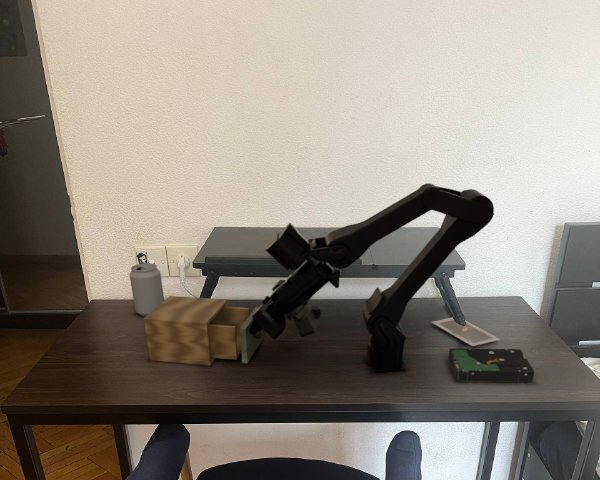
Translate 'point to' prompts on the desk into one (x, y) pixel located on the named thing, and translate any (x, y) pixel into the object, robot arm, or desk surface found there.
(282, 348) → the desk surface
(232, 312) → the drawer
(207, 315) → the cabinet
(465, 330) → the touchpad
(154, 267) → the can
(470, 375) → the disk drive
